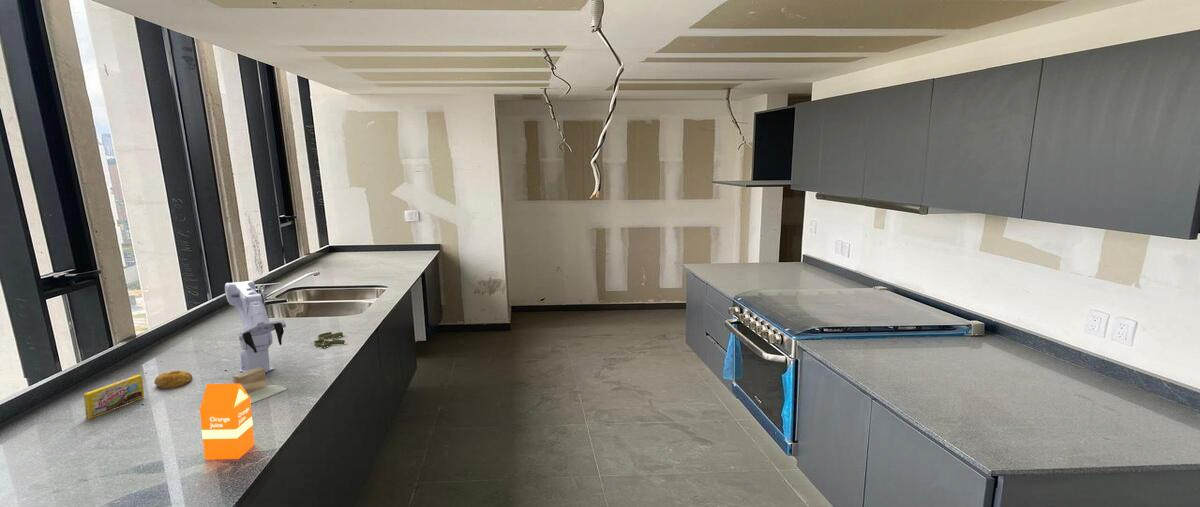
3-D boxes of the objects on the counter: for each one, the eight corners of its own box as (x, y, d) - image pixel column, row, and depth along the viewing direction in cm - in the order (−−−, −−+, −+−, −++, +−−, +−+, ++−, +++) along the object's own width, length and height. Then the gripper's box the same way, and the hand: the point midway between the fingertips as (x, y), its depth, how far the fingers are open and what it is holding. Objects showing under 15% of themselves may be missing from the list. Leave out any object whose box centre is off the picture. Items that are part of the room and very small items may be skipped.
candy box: (91, 419, 163) (87, 394, 162) (85, 419, 164) (81, 393, 163) (145, 397, 179) (142, 374, 178) (140, 397, 180) (137, 373, 178)
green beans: (345, 346, 234) (345, 342, 234) (314, 350, 228) (314, 346, 228) (343, 334, 249) (342, 330, 249) (314, 338, 244) (313, 334, 244)
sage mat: (235, 399, 179) (235, 398, 179) (272, 385, 191) (272, 384, 191) (250, 403, 176) (250, 403, 176) (287, 389, 188) (287, 388, 188)
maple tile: (234, 395, 183) (233, 376, 181) (260, 385, 191) (258, 367, 190) (240, 397, 181) (238, 377, 180) (266, 387, 190) (264, 368, 188)
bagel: (199, 380, 194) (197, 368, 193) (164, 392, 184) (162, 379, 183) (183, 376, 198) (182, 364, 197) (148, 387, 188) (147, 374, 187)
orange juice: (222, 444, 151) (215, 378, 148) (254, 444, 152) (248, 377, 148) (204, 460, 143) (196, 389, 140) (238, 459, 144) (232, 389, 141)
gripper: (233, 319, 187) (241, 347, 180) (279, 306, 195) (289, 333, 188) (237, 331, 192) (246, 359, 185) (282, 318, 200) (292, 345, 193)
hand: (268, 347), depth 187 cm, fingers open, 7 cm apart
